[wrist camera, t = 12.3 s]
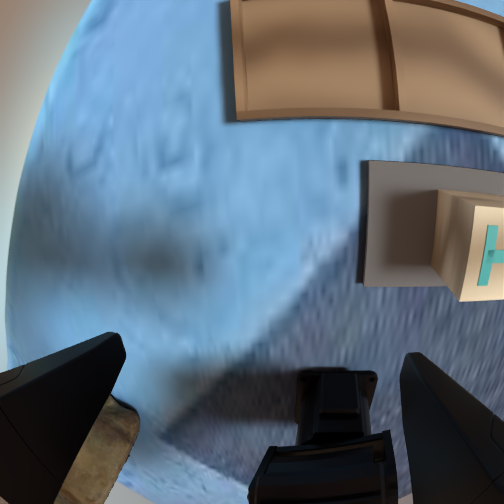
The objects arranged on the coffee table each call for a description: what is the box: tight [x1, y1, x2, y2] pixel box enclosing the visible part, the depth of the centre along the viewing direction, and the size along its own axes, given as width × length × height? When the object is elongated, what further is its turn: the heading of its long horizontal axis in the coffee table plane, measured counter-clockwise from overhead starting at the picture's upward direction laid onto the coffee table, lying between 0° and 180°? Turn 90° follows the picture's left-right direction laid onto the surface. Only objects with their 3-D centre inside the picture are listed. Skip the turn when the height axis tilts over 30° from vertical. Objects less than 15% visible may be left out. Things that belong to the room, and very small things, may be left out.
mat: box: [363, 160, 504, 287], centre depth 17 cm, size 8×14×1 cm, turn 93°
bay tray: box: [230, 0, 504, 137], centre depth 13 cm, size 9×29×2 cm, turn 93°
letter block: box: [431, 189, 504, 302], centre depth 14 cm, size 5×5×5 cm
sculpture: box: [54, 395, 140, 504], centre depth 18 cm, size 12×9×30 cm
